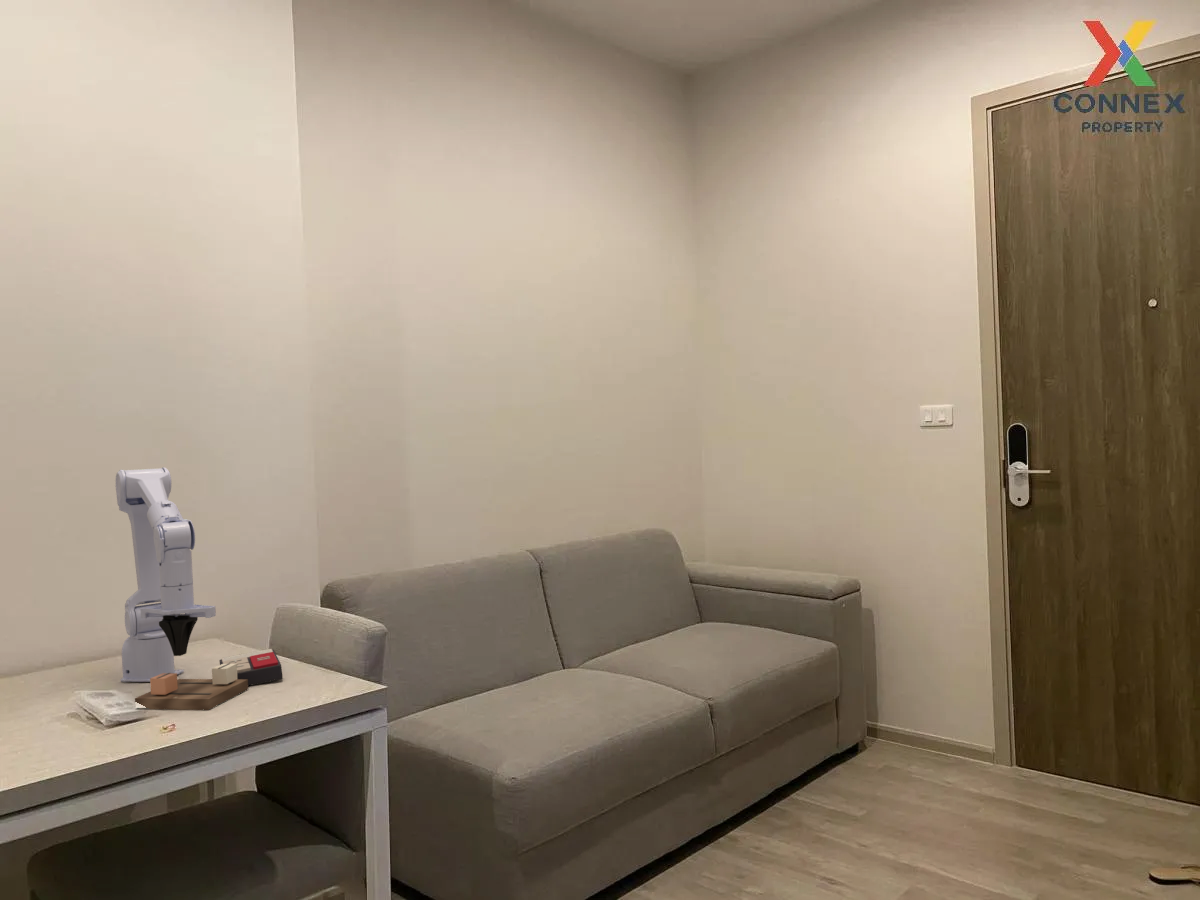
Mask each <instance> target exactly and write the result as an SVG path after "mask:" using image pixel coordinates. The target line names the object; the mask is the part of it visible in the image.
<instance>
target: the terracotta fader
mask: <svg viewBox="0 0 1200 900" xmlns="http://www.w3.org/2000/svg"><path fill="white" fill-rule="evenodd" d="M177 679H178V675H177V673H162V674H160V675H157V676H155V677H152V678H150V682H149V683H150V691H151V694H158V695H166V694H168V693H170V692H172V691H174V690H177V689H178V684H177Z"/></svg>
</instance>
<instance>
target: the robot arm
mask: <svg viewBox="0 0 1200 900" xmlns="http://www.w3.org/2000/svg"><path fill="white" fill-rule="evenodd" d="M115 491H116V493H115V495H116V502H117V503H116V504H117V506H118V510H119V511H120V512H124V513H126V514H127V515H128V519H129V523H130V528H131V537H132V547H133V556H134V564H135V574H136V582H137V590H136V591H135V592H134V593H133V594H131V596H129V597H128V599H127V600H126V601H125V604H124V627H125V631H126V634H127V635H128V637H127V638H126V639H125V640H124V641H123V643H122V647H121V665H122V667H121V668H122V678H120V681H119V682H125V683H127V682H129V683H131V682H133V683H134V682H135V683H138V682H139V683H140V682H143V683H146V682H147V683H148V682H149V683H150V678H152V677H155V676H157V675H160V674H162V673H177V676H178V675H180V674H182V673H185V670H184V669H175V657H181V656H185V655H186V654H187V652H188V646H189V642H190V638H191V635H192V632H193V630H194V629H195V625H196V623H197V621H198V620H199V619H198V618H205V619H210V618H213V617H216V616H217V613H216V605H205V604H204V605H202V604H195V602H194V601H195V597H194V595H195V594H194V578H193V558H192V557H193V556H192V551H193V550H194V548H195V546H196V532H195V527H194V524H193V522H192V520H191V519H187V518H186V519H184V517H183V515H182V513H181V512H180V509H179V508H178V505H177V504H176V503H175V502H174V501H171V500H169V497H170V494H171V493H172V492H171V491H172V476H171V473H170V470H169V469H168V468H167V467H164V466H163V467H160V468H159V467H158V468H145V469H141V468H140V469H139V468H138V469H126V470H125V469H119V470H118V471H117V472H116V473H115Z"/></svg>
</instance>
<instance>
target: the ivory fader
mask: <svg viewBox="0 0 1200 900" xmlns="http://www.w3.org/2000/svg"><path fill="white" fill-rule="evenodd" d="M211 679H212V682H213V684H228V683H230V682H232V681H234V680H237V664H231V663H228V664H221V665H220V664H219V665H217V666H215V667H212V668H211Z"/></svg>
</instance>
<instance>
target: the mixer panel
mask: <svg viewBox="0 0 1200 900" xmlns="http://www.w3.org/2000/svg"><path fill="white" fill-rule="evenodd" d="M177 684H178V689H177V690H174V691H172V692H170V693H168V694H166V695H158V694H151V690H150V691H148V692H146V693H144V694H141V695H139V696H136V697H134V703H135V702H137V703H139V704H141V705H143V706H145V707H146V708H149V709H148V710H174V711H175V710H176V711H177V710H179V711H210V710H212V709H214V708H215V706H216V705H218V704H220V703H221V704H223V703H225V702H227V701H229V700H231V699H232V697H233V698H235V697H237V696H239V695H240V694H239V693H241V692H242V693H244V692H246V691H248V690H249V686H248V679H237V680H234V681H232V682H230V683H228V684H213V682H212V678H177ZM247 689H248V690H247ZM245 690H246V691H245ZM243 691H244V692H243ZM242 693H241V694H242ZM238 694H239V695H238ZM236 695H237V696H236ZM234 696H235V697H234ZM230 698H231V699H230ZM228 699H229V700H228ZM226 700H227V701H226ZM224 701H225V702H224ZM222 702H223V703H222ZM221 704H220V705H221ZM218 706H219V705H218ZM213 707H214V708H213ZM216 707H217V706H216ZM211 708H212V709H211ZM203 709H204V710H203ZM209 709H210V710H209Z"/></svg>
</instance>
